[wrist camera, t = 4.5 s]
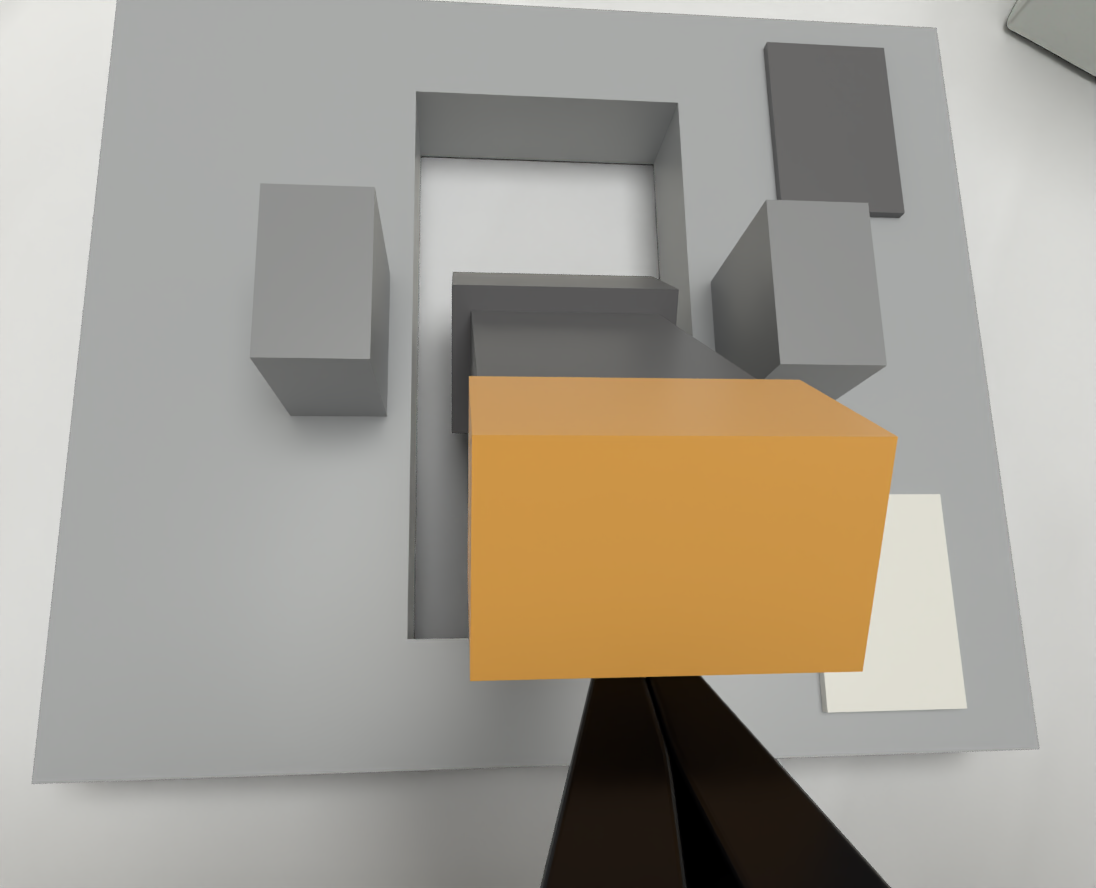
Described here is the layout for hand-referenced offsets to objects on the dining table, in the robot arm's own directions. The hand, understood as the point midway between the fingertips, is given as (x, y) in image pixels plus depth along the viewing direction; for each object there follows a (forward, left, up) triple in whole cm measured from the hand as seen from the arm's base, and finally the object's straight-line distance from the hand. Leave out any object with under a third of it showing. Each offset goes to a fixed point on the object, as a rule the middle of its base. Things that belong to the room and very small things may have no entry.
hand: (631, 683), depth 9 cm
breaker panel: (+4, -4, -8) cm, 10 cm away
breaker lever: (+4, -4, -6) cm, 8 cm away
